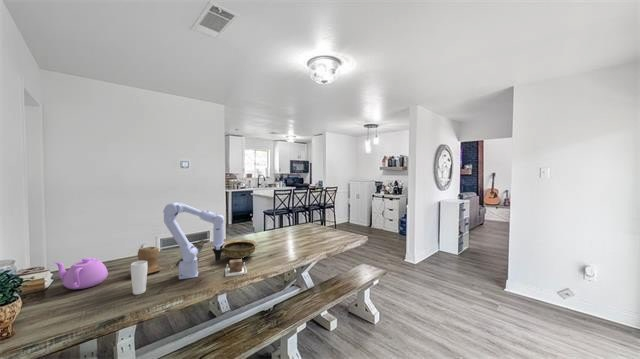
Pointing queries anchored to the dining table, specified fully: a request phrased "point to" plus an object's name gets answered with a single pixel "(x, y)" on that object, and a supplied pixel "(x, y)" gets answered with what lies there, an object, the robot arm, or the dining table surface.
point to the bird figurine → (198, 246)
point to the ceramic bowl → (239, 248)
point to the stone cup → (150, 258)
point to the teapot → (83, 273)
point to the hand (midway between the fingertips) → (218, 258)
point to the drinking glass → (139, 276)
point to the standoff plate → (227, 272)
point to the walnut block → (236, 265)
